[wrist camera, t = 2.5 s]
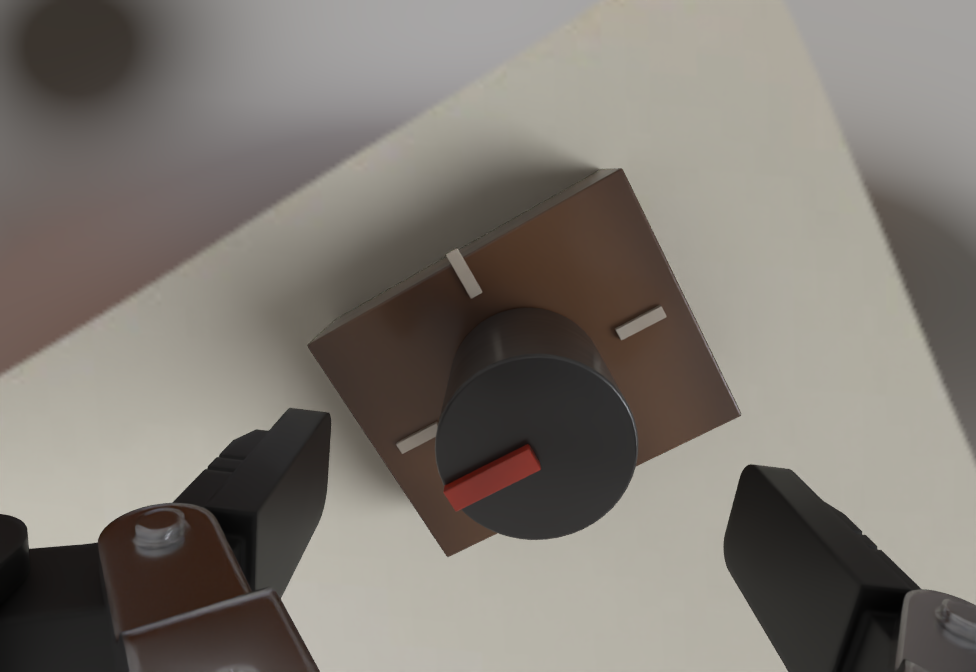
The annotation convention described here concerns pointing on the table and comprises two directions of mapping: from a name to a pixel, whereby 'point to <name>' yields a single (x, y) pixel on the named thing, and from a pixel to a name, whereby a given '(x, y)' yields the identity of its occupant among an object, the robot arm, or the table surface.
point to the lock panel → (528, 284)
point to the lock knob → (533, 428)
